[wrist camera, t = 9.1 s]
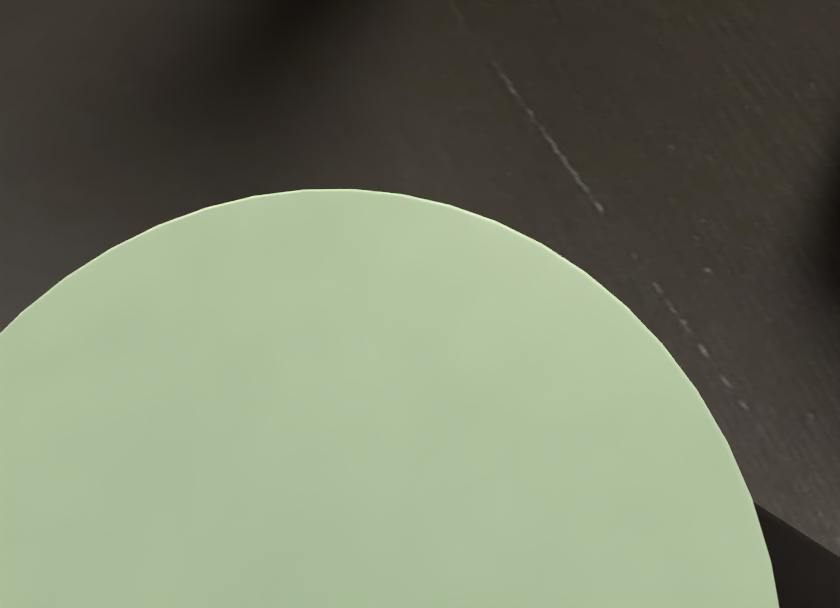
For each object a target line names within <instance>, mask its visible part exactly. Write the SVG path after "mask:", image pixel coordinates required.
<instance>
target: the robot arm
mask: <svg viewBox="0 0 840 608" xmlns="http://www.w3.org/2000/svg"><path fill="white" fill-rule="evenodd" d="M753 504H754V507H755V510H756V513H757V517H758V520H759V523H760V527H761V530H762V533H763V537H764V540H765V543H766V547H767V550H768V553H769V556H770V560H771V564H772V570H773V575H774V581H775V586H776V592H777V598H778V603H779V608H840V557H838V556H837V555H835V554H834V553H832V552H831V551H829V550H827V549H826V548H824V547H823V546H821V545H820V544H818V543H817V542H815V541H813V540H812V539H810V538H809V537H807V536H806V535H804V534H803V533H801V532H799V531H798V530H796V529H795V528H793V527H792V526H790V525H788V524H787V523H785V522H784V521H782V520H781V519H779V518H778V517H776V516H774V515H773V514H771V513H770V512H768V511H767V510H765V509H764V508H762V507H760V506H759V505H757V504H756V503H754V502H753Z"/></svg>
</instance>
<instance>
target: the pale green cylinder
mask: <svg viewBox="0 0 840 608" xmlns="http://www.w3.org/2000/svg"><path fill="white" fill-rule="evenodd" d="M0 608H779V603H778V598H777V592H776V586H775V581H774V575H773V570H772V564H771V560H770V556H769V553H768V550H767V547H766V543H765V540H764V537H763V533H762V530H761V527H760V523H759V520H758V517H757V513H756V510H755V507H754V504H753V500H752V498H751V495H750V493H749V491H748V488H747V486H746V484H745V482H744V479H743V477H742V475H741V472H740V470H739V468H738V465H737V463H736V461H735V459H734V456H733V454H732V452H731V449H730V447H729V445H728V442H727V441H726V439H725V437H724V436H723V434H722V432H721V430H720V429H719V427H718V425H717V423H716V422H715V420H714V418H713V417H712V415H711V413H710V411H709V410H708V408H707V406H706V405H705V403H704V401H703V399H702V398H701V396H700V394H699V392H698V391H697V390H696V388H695V387H694V385H693V384H692V383H691V381H690V380H689V379H688V377H687V376H686V375H685V373H684V372H683V371H682V369H681V368H680V367H679V365H678V364H677V363H676V361H675V360H674V359H673V357H672V356H671V355H670V353H669V352H668V351H667V349H666V348H665V347H664V345H663V344H662V343H661V342H660V341H659V340H658V339H657V338H656V337H655V336H654V335H653V334H652V333H651V332H650V331H649V330H648V329H647V328H646V326H645V325H644V324H643V323H642V322H641V321H640V320H639V319H638V318H637V317H636V316H635V315H634V314H633V313H632V312H631V311H630V310H629V309H628V307H627V306H626V305H624V304H623V303H622V302H621V301H620V300H618V299H617V298H616V297H615V296H613V295H612V294H611V293H610V292H609V291H607V290H606V289H605V288H604V287H603V286H601V285H600V284H599V283H598V282H597V281H595V280H594V279H593V278H592V277H591V276H589V275H588V274H587V273H586V272H585V271H583V270H581V269H580V268H578V267H577V266H575V265H574V264H572V263H571V262H569V261H568V260H566V259H564V258H563V257H561V256H560V255H558V254H557V253H555V252H554V251H552V250H551V249H549V248H548V247H546V246H544V245H543V244H541V243H539V242H537V241H535V240H533V239H531V238H529V237H527V236H525V235H523V234H521V233H519V232H517V231H515V230H513V229H511V228H509V227H507V226H505V225H503V224H501V223H499V222H496V221H494V220H491V219H488V218H485V217H482V216H480V215H477V214H474V213H471V212H468V211H465V210H463V209H460V208H457V207H454V206H451V205H447V204H443V203H439V202H434V201H430V200H425V199H421V198H416V197H412V196H408V195H403V194H395V193H386V192H376V191H367V190H357V189H317V190H297V191H289V192H281V193H273V194H266V195H258V196H252V197H248V198H244V199H240V200H236V201H232V202H228V203H223V204H219V205H215V206H211V207H207V208H204V209H201V210H198V211H196V212H193V213H190V214H187V215H185V216H182V217H179V218H176V219H174V220H171V221H168V222H165V223H163V224H160V225H157V226H155V227H153V228H151V229H149V230H147V231H145V232H143V233H141V234H139V235H137V236H135V237H133V238H131V239H129V240H127V241H125V242H123V243H121V244H119V245H117V246H115V247H113V248H111V249H109V250H108V251H106V252H105V253H103V254H101V255H100V256H98V257H97V258H95V259H93V260H92V261H90V262H89V263H87V264H86V265H84V266H82V267H81V268H79V269H78V270H76V271H75V272H73V273H71V274H70V275H68V276H67V277H65V278H64V279H63V280H61V281H60V282H59V283H58V284H56V285H55V286H54V287H53V288H51V289H50V290H49V291H48V292H46V293H45V294H44V295H43V296H41V297H40V298H39V299H38V300H36V301H35V302H34V303H33V304H31V305H30V306H29V307H27V308H26V309H25V310H24V311H22V312H21V313H20V314H19V315H18V316H17V317H16V318H15V319H14V320H13V321H12V322H11V323H10V324H9V325H8V326H7V327H6V328H5V329H4V330H3V331H2V332H1V333H0Z"/></svg>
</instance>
